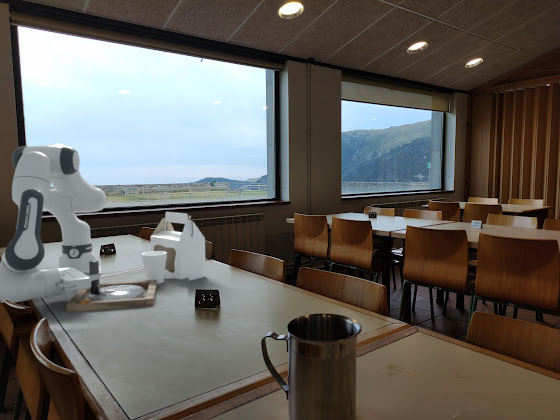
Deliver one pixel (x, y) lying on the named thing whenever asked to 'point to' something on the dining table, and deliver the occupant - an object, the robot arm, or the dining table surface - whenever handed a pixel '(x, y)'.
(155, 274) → the foam cup
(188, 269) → the gable box
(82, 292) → the wooden tray
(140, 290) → the dial
